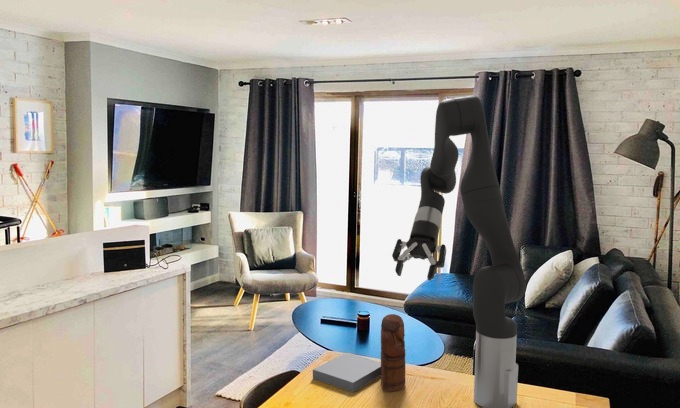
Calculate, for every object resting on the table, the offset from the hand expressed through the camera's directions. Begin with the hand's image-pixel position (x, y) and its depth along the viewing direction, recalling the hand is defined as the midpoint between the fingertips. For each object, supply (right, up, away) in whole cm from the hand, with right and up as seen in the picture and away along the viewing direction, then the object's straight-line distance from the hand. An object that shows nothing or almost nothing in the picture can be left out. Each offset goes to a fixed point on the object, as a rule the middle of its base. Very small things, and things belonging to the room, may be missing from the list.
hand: (413, 276), depth 149 cm
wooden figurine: (-6, -27, -7) cm, 28 cm away
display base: (-17, -26, -3) cm, 31 cm away
